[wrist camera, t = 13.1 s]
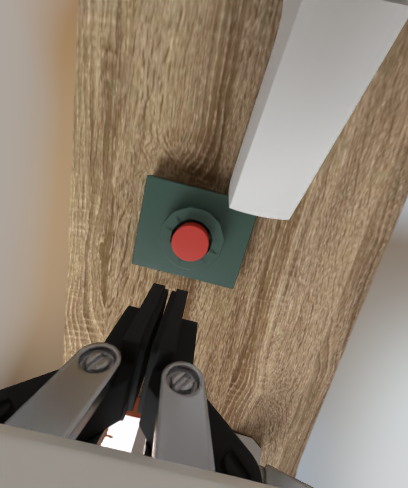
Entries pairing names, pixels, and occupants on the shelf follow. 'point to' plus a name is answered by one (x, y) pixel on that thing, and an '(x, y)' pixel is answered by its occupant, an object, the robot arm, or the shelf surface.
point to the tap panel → (123, 431)
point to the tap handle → (138, 442)
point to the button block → (199, 211)
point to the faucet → (309, 96)
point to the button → (190, 241)
